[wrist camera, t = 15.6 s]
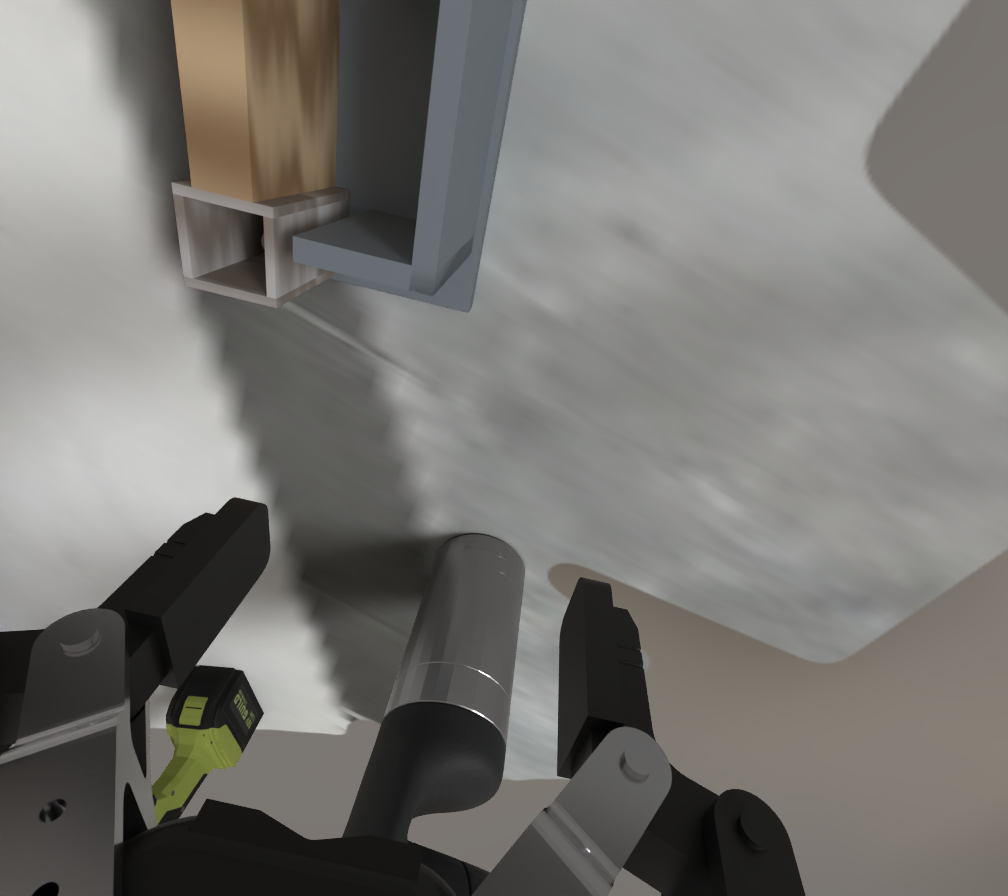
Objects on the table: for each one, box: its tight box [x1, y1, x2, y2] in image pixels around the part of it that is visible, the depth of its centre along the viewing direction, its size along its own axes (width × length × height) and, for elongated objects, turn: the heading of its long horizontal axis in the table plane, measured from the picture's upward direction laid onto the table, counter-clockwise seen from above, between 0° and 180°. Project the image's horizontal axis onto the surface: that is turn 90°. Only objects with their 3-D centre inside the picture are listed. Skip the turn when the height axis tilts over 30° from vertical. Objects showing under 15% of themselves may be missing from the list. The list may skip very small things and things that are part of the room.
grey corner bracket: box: [261, 0, 527, 312], centre depth 26 cm, size 21×15×12 cm
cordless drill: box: [152, 665, 264, 826], centre depth 56 cm, size 23×7×25 cm, turn 2°
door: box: [171, 0, 351, 308], centre depth 26 cm, size 19×5×10 cm, turn 168°
